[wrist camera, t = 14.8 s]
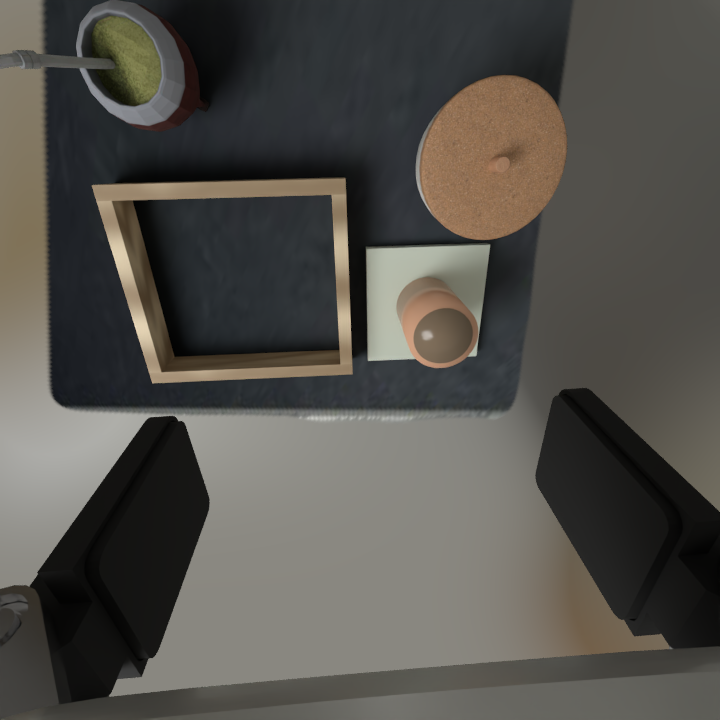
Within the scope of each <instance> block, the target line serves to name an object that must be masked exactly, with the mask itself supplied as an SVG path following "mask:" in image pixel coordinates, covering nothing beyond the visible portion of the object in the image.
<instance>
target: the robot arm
mask: <svg viewBox="0 0 720 720" xmlns="http://www.w3.org/2000/svg"><path fill="white" fill-rule="evenodd" d="M536 482H537V485H538V488H539V489H540V491H541V493H542V494H543V496H544V498H545V499H546V501H547V503H548V504H549V506H550V508H551V509H552V511H553V513H554V514H555V516H556V518H557V519H558V521H559V523H560V524H561V526H562V528H563V530H564V531H565V533H566V535H567V536H568V538H569V539H570V541H571V543H572V544H573V546H574V548H575V549H576V551H577V553H578V555H579V556H580V558H581V560H582V561H583V563H584V565H585V566H586V568H587V570H588V571H589V573H590V575H591V576H592V578H593V580H594V581H595V583H596V585H597V586H598V588H599V590H600V591H601V593H602V595H603V596H604V598H605V600H606V601H607V603H608V605H609V606H610V608H611V610H612V611H613V613H614V614H615V615H616V616H617V617H618V618H619V619H621V620H625V622H626V624H627V625H628V627H629V629H630V630H631V632H632V634H633V635H634V636H642V635H655V634H660V633H661V634H662V635H663V637H664V638H665V640H666V641H667V643H668V644H669V649H665V650H648V651H632V652H618V653H605V654H592V655H580V656H566V657H554V658H540V659H528V660H516V661H502V662H489V663H477V664H465V665H453V666H441V667H429V668H417V669H406V670H394V671H381V672H369V673H357V674H345V675H334V676H322V677H311V678H300V679H288V680H278V681H267V682H255V683H244V684H232V685H221V686H210V687H200V688H188V689H178V690H169V691H160V692H151V693H142V694H132V695H123V696H114V697H109V695H110V694H111V692H112V690H113V687H114V685H115V682H116V680H117V679H123V678H135V677H142V674H143V672H144V669H145V666H146V664H147V661H148V658H153V657H154V656H155V655H156V653H157V652H158V650H159V647H160V644H161V642H162V639H163V636H164V633H165V631H166V628H167V625H168V622H169V620H170V617H171V614H172V611H173V608H174V606H175V602H176V600H177V597H178V595H179V592H180V589H181V586H182V583H183V580H184V578H185V575H186V572H187V569H188V567H189V564H190V561H191V558H192V556H193V553H194V550H195V547H196V545H197V542H198V539H199V536H200V533H201V530H202V528H203V525H204V522H205V519H206V517H207V514H208V511H209V496H208V493H207V490H206V487H205V484H204V480H203V478H202V474H201V471H200V468H199V465H198V462H197V459H196V456H195V453H194V450H193V447H192V444H191V441H190V438H189V435H188V432H187V429H186V426H185V423H184V422H182V421H178V420H177V418H176V417H174V416H164V417H151V418H148V419H147V420H146V421H145V423H144V424H143V425H142V427H141V428H140V430H139V431H138V432H137V434H136V435H135V437H134V438H133V439H132V441H131V442H130V444H129V445H128V446H127V448H126V449H125V451H124V452H123V453H122V455H121V456H120V458H119V459H118V460H117V462H116V463H115V465H114V466H113V467H112V469H111V470H110V472H109V473H108V474H107V476H106V477H105V479H104V480H103V481H102V483H101V484H100V486H99V487H98V488H97V490H96V491H95V493H94V494H93V495H92V497H91V498H90V500H89V501H88V502H87V504H86V505H85V507H84V508H83V510H82V511H81V512H80V514H79V515H78V516H77V518H76V519H75V521H74V522H73V523H72V525H71V526H70V528H69V529H68V530H67V532H66V533H65V535H64V536H63V537H62V539H61V540H60V542H59V543H58V545H57V546H56V547H55V549H54V550H53V551H52V553H51V554H50V556H49V557H48V558H47V560H46V561H45V563H44V564H43V565H42V567H41V568H40V570H39V571H38V572H37V573H38V575H37V577H36V578H35V579H34V581H33V582H32V584H31V585H30V587H29V586H26V585H14V586H10V587H6V588H2V589H0V720H720V512H719V511H718V510H717V509H716V508H715V507H714V506H713V505H712V504H711V503H709V501H708V500H706V499H705V498H704V497H703V496H702V495H701V494H700V493H699V492H698V491H697V490H696V489H695V488H694V487H693V486H692V485H691V484H689V483H688V482H687V481H686V480H685V479H684V478H683V477H682V476H681V475H680V474H679V473H678V472H677V471H676V470H675V469H673V467H671V466H670V465H669V464H668V463H667V462H666V461H665V460H664V459H663V458H662V457H661V456H660V455H659V454H657V452H655V451H654V450H653V449H652V448H651V447H650V446H649V445H648V444H647V443H646V442H645V441H644V440H643V439H642V438H640V437H639V435H638V434H636V433H635V432H634V431H633V430H632V429H631V428H630V427H629V426H628V425H627V424H626V423H625V422H624V421H623V420H622V419H620V418H619V417H618V416H617V415H616V414H615V413H614V412H613V411H612V410H611V409H610V408H609V407H608V406H607V405H606V404H605V403H604V402H602V401H601V400H600V399H599V398H598V397H597V396H596V395H595V394H594V393H593V392H592V391H591V390H589V389H587V388H579V389H564V390H562V391H561V392H560V393H559V395H558V396H555V397H554V398H553V401H552V404H551V409H550V413H549V418H548V422H547V426H546V430H545V435H544V439H543V443H542V448H541V452H540V457H539V461H538V465H537V470H536Z"/></svg>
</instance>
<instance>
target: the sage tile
mask: <svg viewBox="0 0 720 720" xmlns="http://www.w3.org/2000/svg"><path fill="white" fill-rule="evenodd" d="M489 251H490V244H488V243H468V244H438V245H408V246H377V247H366V297H367V357H368V361H375V360H397V359H416V358H415V357H414V356H413V355H412V353H411V351H410V349H409V346H408V344H407V341H406V338H405V335H404V332H403V330H402V327H401V324H400V321H399V318H398V315H397V311H396V305H397V300H398V297H399V295H400V293H401V291H402V290H403V289H404V288H405V286H407V285H408V284H409V283H410V282H412V281H414V280H416V279H419V278H423V277H432V278H436V279H439V280H441V281H443V282H444V283H446V284H447V285H448V286H449V287H450V289H451V290H452V291H453V292H454V293H455V294H456V296H457V297H458V298H459V299H460V300H461V301H462V302H463V304H464V305H465V306H466V307H467V308H468V309H469V310H470V312H471V313H472V314H473V315H474V317H475V319H476V321H477V324H478V338H479V330H480V322H481V314H482V306H483V298H484V291H485V283H486V275H487V267H488V259H489ZM477 346H478V339H477V342H476V345H475V347H474V349H473V350H472V352H471V353H470V354H469V355H468V356H476V354H477Z"/></svg>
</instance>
